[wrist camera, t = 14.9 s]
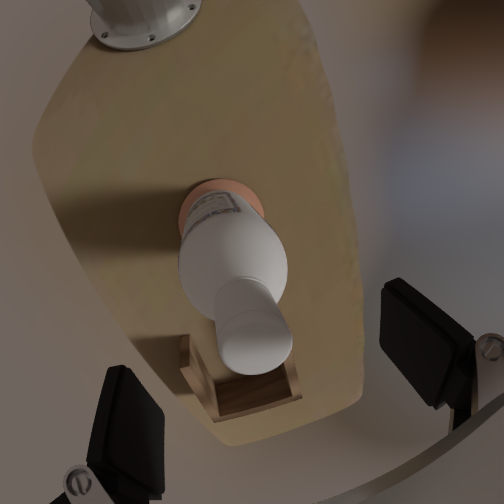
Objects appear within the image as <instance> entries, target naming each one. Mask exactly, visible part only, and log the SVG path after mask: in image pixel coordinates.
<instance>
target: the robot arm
mask: <svg viewBox="0 0 504 504" xmlns="http://www.w3.org/2000/svg"><path fill="white" fill-rule="evenodd" d="M86 1H87V2H88V3H89V4H90V6H91V7H92V8H93V9H92V13H91V18H90V25H91V28H92V31H93V33H94V35H95V37H96V38H97V39H98V40H99V41H100V42H101V43H103V44H104V45H106V46H108V47H110V48H113V49H117V50H123V51H135V50H141V49H147V48H150V47H153V46H157V45H159V44H161V43H164V42H166V41H168V40H170V39H172V38H173V37H175V36H177V35H178V34H179V33H181V32H182V31H183V30H185V29H186V28H187V27H188V26H189V25H190V24H191V23H192V22H193V20H194V19H195V17H196V16H197V14H198V12H199V10H200V7H201V2H202V0H86ZM191 9H193V10H191ZM107 36H108V37H107ZM152 39H154V40H153V41H151V40H152ZM473 338H474V336H472V335H471V334H470V333H469V332H468V331H467V330H465V329H464V328H463V327H462V326H461V325H460V324H458V323H457V322H456V321H455V320H454V319H452V318H451V317H450V316H449V315H448V314H446V313H445V312H444V311H442V310H441V309H440V308H439V307H438V306H436V305H435V304H434V303H433V302H431V301H430V300H429V299H428V298H426V297H425V296H424V295H422V294H421V293H420V292H418V291H417V290H416V289H415V288H413V287H412V286H411V285H409V284H408V283H407V282H405V281H404V280H403V279H401V278H396V279H393V280H391V281H388V282H386V283H385V285H384V288H383V289H382V290H381V320H380V338H379V342H380V346H381V348H382V350H383V351H384V352H385V353H386V354H387V356H388V357H389V358H390V359H391V361H392V362H393V363H394V364H395V365H396V367H397V368H398V369H399V370H400V372H401V373H402V374H403V375H404V376H405V378H406V379H407V380H408V381H409V383H410V384H411V385H412V386H413V387H414V389H415V390H416V391H417V393H418V394H419V395H420V396H421V398H422V399H423V400H424V401H425V403H426V404H427V405H428V406H433V407H434V409H435V410H438V409H439V408H440V407H442V406H443V405H445V404H446V403H447V404H448V406H449V407H450V419H449V428H448V435H447V436H446V437H444V438H443V439H441V440H440V441H438V442H437V443H435V444H434V445H433V446H431V447H430V448H428V449H427V450H425V451H423V452H422V453H420V454H419V455H417V456H416V457H414V458H412V459H411V460H409V461H407V462H406V463H404V464H402V465H400V466H399V467H397V468H395V469H393V470H391V471H389V472H387V473H385V474H384V475H382V476H380V477H378V478H376V479H374V480H371V481H369V482H367V483H365V484H363V485H361V486H358V487H356V488H354V489H352V490H349V491H347V492H344V493H342V494H340V495H337V496H334V497H331V498H329V499H326V500H323V501H320V502H317V503H314V504H504V337H502V336H501V335H498V334H495V333H488V334H484V335H482V336H480V337H479V339H478V340H477V342H476V341H475V340H474V339H473ZM164 426H165V417H164V413H163V411H162V409H161V408H160V407H159V406H158V405H157V403H156V402H155V401H154V399H153V398H152V397H151V396H150V394H149V393H148V392H147V390H146V389H145V388H144V386H142V384H141V382H140V381H139V380H138V378H137V377H136V376H135V374H134V373H133V372H132V370H131V369H130V368H126V366H124V365H118V366H113V367H109V368H108V370H107V373H106V376H105V380H104V383H103V387H102V391H101V395H100V398H99V402H98V406H97V411H96V415H95V419H94V423H93V428H92V432H91V438H90V442H89V447H88V453H87V458H86V461H87V466H84V465H75V466H73V467H71V468H70V469H69V470H68V471H67V472H66V474H65V475H64V479H63V487H64V491H65V492H64V493H62V494H61V495H60V496H59V497H58V498H56V499H55V500H54V501H52V502H51V503H50V504H149V500H162V495H161V494H163V493H164V491H165V477H164Z"/></svg>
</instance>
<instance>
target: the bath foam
mask: <svg viewBox="0 0 504 504" xmlns="http://www.w3.org/2000/svg"><path fill="white" fill-rule="evenodd" d="M178 271H179V278H180V282H181V285H182V288H183V290H184V292H185V294H186V296H187V298H188V300H189V301H190V302H191V304H192V305H193V306H194V307H195V308H196V309H197V310H198V311H199V312H200V313H201V314H203V315H204V316H206V317H207V318H209V319H211V320H213V321H215V327H216V336H217V344H218V351H219V355H220V358H221V360H222V361H223V363H224V364H225V365H226V366H227V367H228V368H229V369H231V370H232V371H234V372H237V373H240V374H245V375H257V374H262V373H266V372H269V371H271V370H273V369H275V368H276V367H278V366H279V365H280V364H282V363H283V362H284V361H285V359H286V358H287V357H288V355H289V353H290V351H291V348H292V335H291V332H290V329H289V327H288V325H287V323H286V321H285V319H284V317H283V315H282V313H281V311H280V309H279V307H278V305H277V303H278V301H279V299H280V298H281V296H282V293H283V291H284V288H285V285H286V280H287V259H286V255H285V251H284V248H283V246H282V243H281V241H280V239H279V237H278V236H277V234H276V233H275V231H274V230H273V229H272V227H271V226H270V225H269V224H268V223H267V222H266V221H265V220H264V219H263V218H262V217H261V215H260V214H259V213H258V212H257V211H256V210H255V209H254V208H253V207H252V206H251V205H250V204H249V203H248V202H247V201H246V200H245V199H244V198H243V197H241V196H240V195H238V194H237V193H234V192H232V191H228V190H214V191H210V192H207V193H205V194H203V195H202V196H200V197H199V198H198V199H197V200H196V201H195V202H194V203H193V204H192V206H191V208H190V210H189V212H188V215H187V218H186V223H185V227H184V232H183V237H182V241H181V246H180V251H179V256H178Z"/></svg>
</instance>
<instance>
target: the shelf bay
mask: <svg viewBox="0 0 504 504" xmlns="http://www.w3.org/2000/svg"><path fill="white" fill-rule="evenodd" d="M280 365H281V367H279V368H276V369H273V370H271V371H269V372H266V373H262V374H257V375H254V376H250V377H247V378H243V379H240V380H236V381H232V382H229V383H225V384H221V385H217V386H216V385H215V383H214V381H213V380H212V378H211V376H210V374H209V372H208V370H207V368H206V366H205V364H204V362H203V360H202V358H201V356H200V354H199V352H198V350H197V348H196V346H195V344H194V342H193V340H192V338H191V336H190V334H189V335H185V336H182V337H181V345H180V368H179V369H180V370H181V372H182V374H183V375H184V377H185V379H186V380H187V382H188V384H189V385H190V387H191V388H192V390H193V392H194V393H195V395H196V396H197V398H198V399H199V401H200V403H201V404H202V406H203V407H204V409H205V410H206V412H207V413H208V415H209V416H210V417H211V419H212V420H213V422H214V423H216V422H221V421H225V420H229V419H234V418H238V417H242V416H246V415H249V414H253V413H257V412H260V411H264V410H267V409H270V408H274V407H277V406H280V405H283V404H286V403H289V402H292V401H295V400H298V399H301V398H302V394H301V390H300V385H299V381H298V376H297V372H296V367H295V363H294V358H293V354H292V349H291V351H290V353H289V355H288V357H287V358H286V359H285V361H284V362H283V363H282V364H280Z"/></svg>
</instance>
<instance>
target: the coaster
mask: <svg viewBox="0 0 504 504" xmlns="http://www.w3.org/2000/svg"><path fill="white" fill-rule="evenodd" d="M214 190H228V191H232V192H234V193H237V194H238V195H240V196H241V197H243V198H244V199H245V200H246V201H247V202H248V203H249V204H250V205H251V206H252V207H253V208H254V209H255V210H256V211H257V212H258V213H259V214H260V215H261V217H262V218H263V219H264V212H263V208H262V205H261V203H260V201H259V199H258V198H257V196H256V195H255V194H254V193H253V191H251V190H250V189H249V188H248V187H246V186H245V185H243V184H242V183H240V182H237V181H234V180H230V179H214V180H209V181H207V182H204V183H202V184H200V185H198V186H197V187H196V188H194V189H193V190H192V191H191V192H190V193H189V194H188V196H187V197H186V198H185V200H184V202H183V204H182V206H181V209H180V213H179V219H178V225H179V231H180V235H181V237H183V232H184V227H185V223H186V218H187V215H188V212H189V210H190V208H191V206H192V204H193V203H194V202H195V201H196V200H197V199H198V198H199V197H200V196H202V195H203V194H205V193H207V192H210V191H214Z"/></svg>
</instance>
